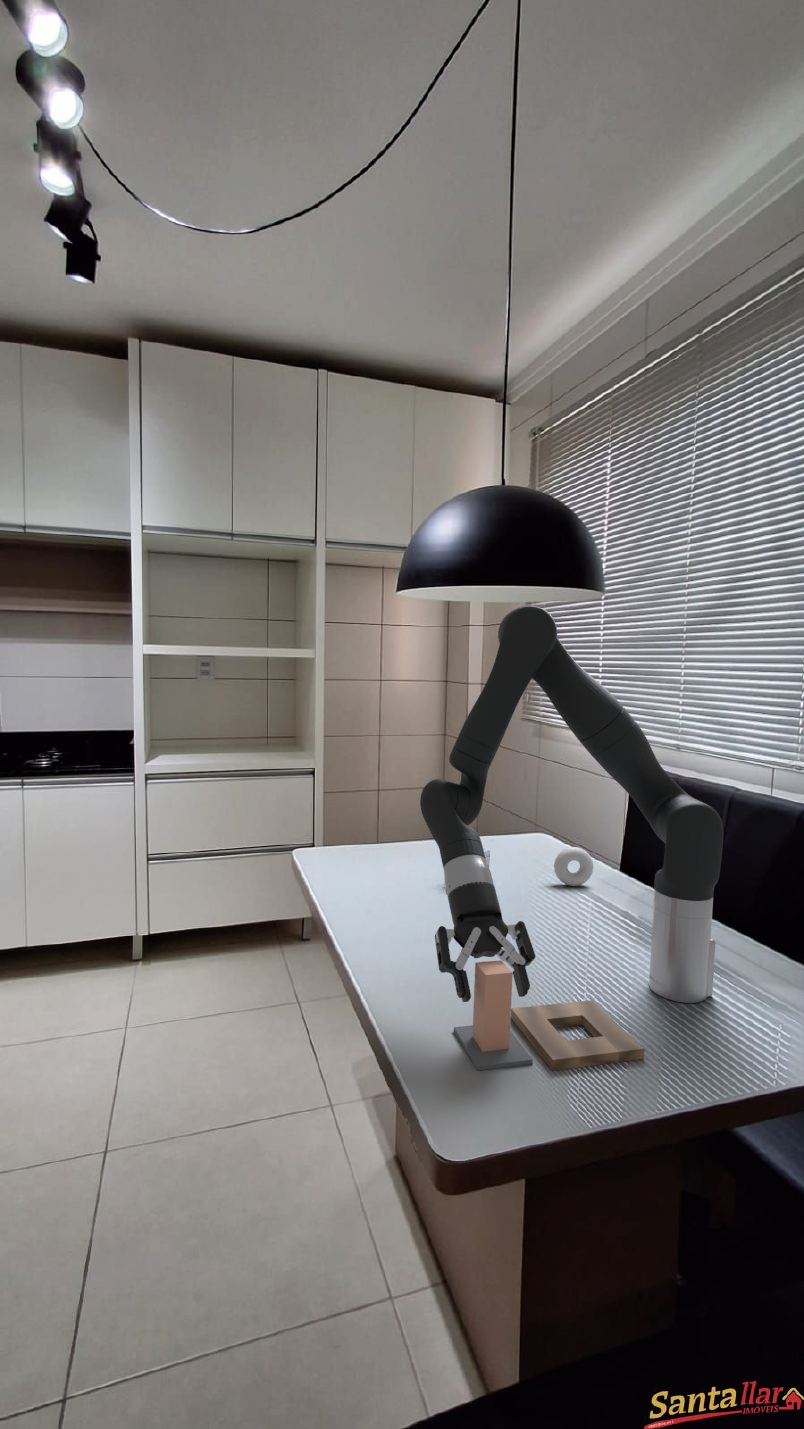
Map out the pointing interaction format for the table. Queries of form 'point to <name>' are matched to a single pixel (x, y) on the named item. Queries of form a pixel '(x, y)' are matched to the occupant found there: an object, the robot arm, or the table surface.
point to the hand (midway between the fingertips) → (495, 997)
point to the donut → (568, 856)
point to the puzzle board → (562, 1054)
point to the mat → (492, 1058)
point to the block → (492, 1005)
